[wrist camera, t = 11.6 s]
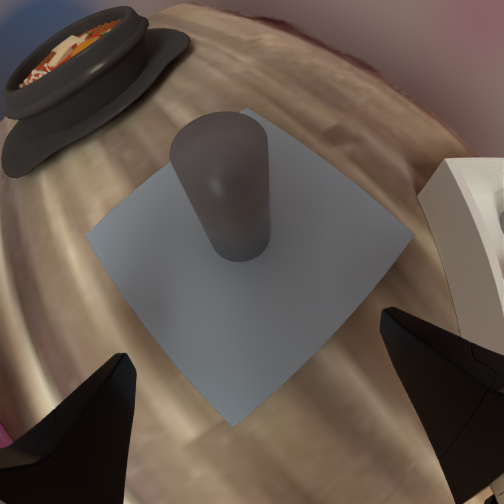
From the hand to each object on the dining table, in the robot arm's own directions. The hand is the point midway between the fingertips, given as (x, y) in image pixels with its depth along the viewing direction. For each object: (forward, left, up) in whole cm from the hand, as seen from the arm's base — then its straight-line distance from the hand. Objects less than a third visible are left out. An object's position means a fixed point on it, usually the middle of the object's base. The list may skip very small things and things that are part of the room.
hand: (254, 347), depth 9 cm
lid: (+6, 0, -5) cm, 8 cm away
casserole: (+27, +14, -7) cm, 31 cm away
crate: (+1, -19, -6) cm, 20 cm away
